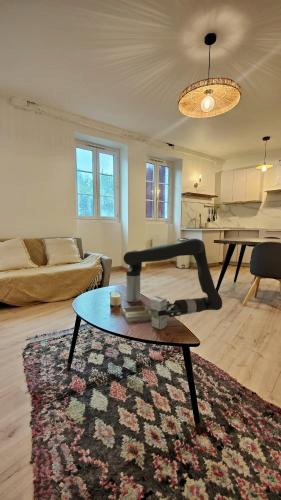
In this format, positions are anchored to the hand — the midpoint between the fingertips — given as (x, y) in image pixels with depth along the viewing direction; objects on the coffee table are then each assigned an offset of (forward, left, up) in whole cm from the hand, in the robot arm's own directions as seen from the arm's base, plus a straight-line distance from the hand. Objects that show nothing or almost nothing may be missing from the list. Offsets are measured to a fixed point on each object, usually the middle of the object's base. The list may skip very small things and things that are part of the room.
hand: (155, 310), depth 107 cm
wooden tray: (-15, -5, -8) cm, 18 cm away
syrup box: (0, +2, -9) cm, 9 cm away
